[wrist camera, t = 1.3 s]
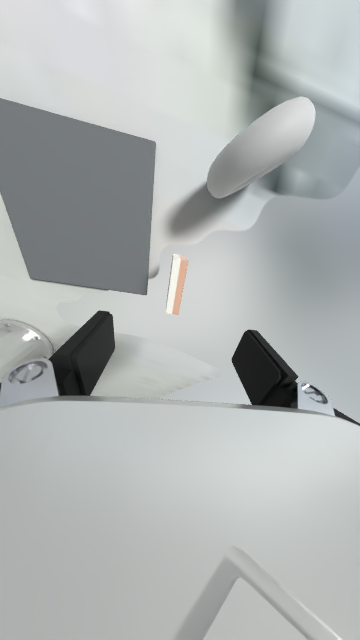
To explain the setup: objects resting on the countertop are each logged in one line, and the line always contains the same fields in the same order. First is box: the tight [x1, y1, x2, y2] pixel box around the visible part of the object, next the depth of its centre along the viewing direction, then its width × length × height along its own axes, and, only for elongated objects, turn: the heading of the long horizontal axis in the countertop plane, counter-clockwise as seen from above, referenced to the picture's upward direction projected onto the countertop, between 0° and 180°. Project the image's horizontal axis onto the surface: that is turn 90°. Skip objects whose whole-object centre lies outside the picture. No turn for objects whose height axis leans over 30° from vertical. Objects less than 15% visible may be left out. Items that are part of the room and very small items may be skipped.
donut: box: [207, 97, 315, 198], centre depth 15 cm, size 10×4×10 cm, turn 115°
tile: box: [166, 254, 188, 315], centre depth 23 cm, size 8×2×7 cm, turn 170°
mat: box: [0, 98, 156, 295], centre depth 21 cm, size 20×20×1 cm
